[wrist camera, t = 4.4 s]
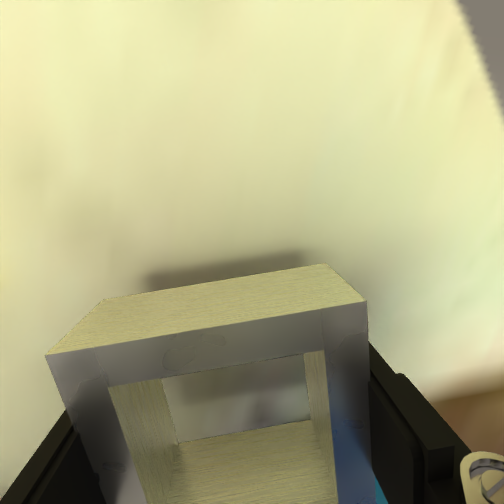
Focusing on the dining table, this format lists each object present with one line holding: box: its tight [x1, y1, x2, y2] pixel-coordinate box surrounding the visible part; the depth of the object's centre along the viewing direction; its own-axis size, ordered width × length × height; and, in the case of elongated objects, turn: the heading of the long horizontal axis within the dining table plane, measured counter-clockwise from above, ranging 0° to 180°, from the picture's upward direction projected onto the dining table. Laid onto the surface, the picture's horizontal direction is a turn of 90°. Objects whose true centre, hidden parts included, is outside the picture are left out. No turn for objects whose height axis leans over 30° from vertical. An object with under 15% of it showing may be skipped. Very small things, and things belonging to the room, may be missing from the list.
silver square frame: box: [45, 263, 376, 504], centre depth 9 cm, size 7×7×3 cm
